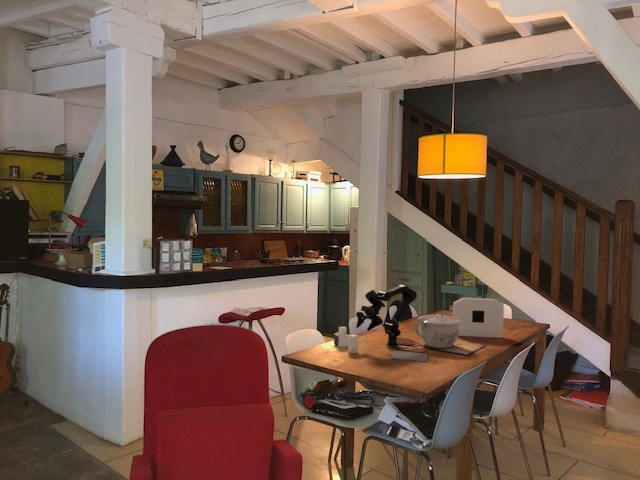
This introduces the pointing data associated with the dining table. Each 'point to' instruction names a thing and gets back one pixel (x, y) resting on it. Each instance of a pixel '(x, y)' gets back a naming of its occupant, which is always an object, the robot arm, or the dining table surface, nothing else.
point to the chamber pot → (438, 330)
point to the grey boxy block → (479, 317)
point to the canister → (353, 343)
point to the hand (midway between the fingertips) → (362, 329)
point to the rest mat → (409, 356)
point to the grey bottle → (341, 337)
